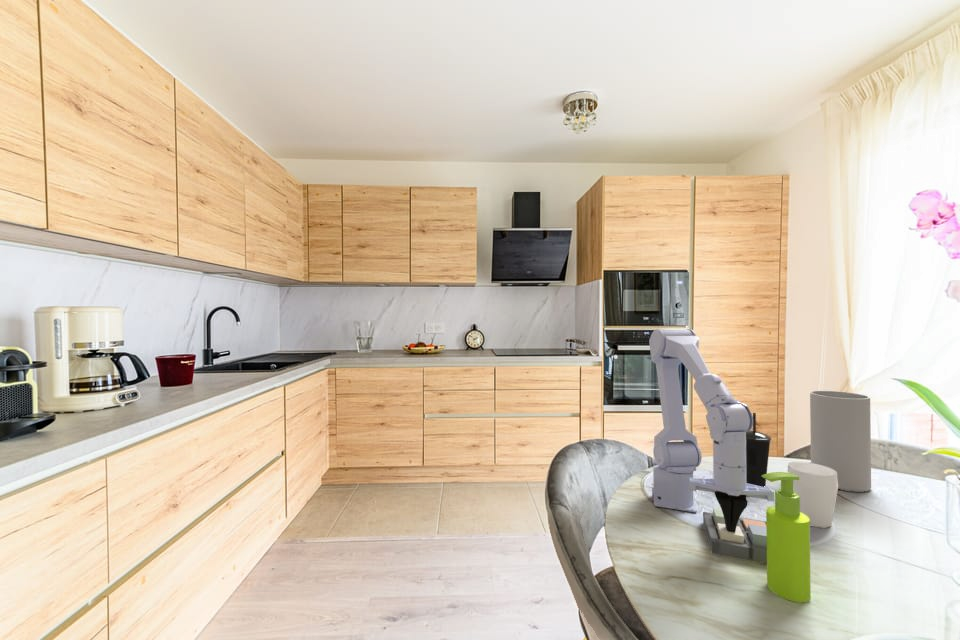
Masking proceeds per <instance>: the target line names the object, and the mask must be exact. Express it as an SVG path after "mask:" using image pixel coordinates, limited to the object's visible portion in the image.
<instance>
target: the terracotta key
mask: <svg viewBox="0 0 960 640" xmlns="http://www.w3.org/2000/svg"><path fill="white" fill-rule="evenodd" d="M741 518H742V526H743V528H744V530H745V531H748V524H751V525H757V526H763V527H767V526H766V524H765V522H762V521H763V520H760V521H756V520H757V519H753V520H749V519H750V518H747V519H743V518H744V517H741Z"/></svg>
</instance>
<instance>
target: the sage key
mask: <svg viewBox="0 0 960 640" xmlns="http://www.w3.org/2000/svg"><path fill="white" fill-rule="evenodd" d="M712 513H713V520H714V523H715V526H717V523H721V524H725V520H724V516H723V512H722V509H721V508H716V507H712ZM737 526H738V523H737Z"/></svg>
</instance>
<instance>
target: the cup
mask: <svg viewBox="0 0 960 640" xmlns="http://www.w3.org/2000/svg"><path fill="white" fill-rule="evenodd" d="M787 472H789V473H792V474H794V475H796V476H799V480H793V492H795V493H796V494H798V495H799V496H800V512H801V513H803V514H805V515H806V516H808V517H809V519H810V526H811V527H815V528H829V527H831V526H832V523H833V520H834V514H835V506H836V502H837V496H838V480H837V472H836V471H835V470H833V469H831V468H829V467H826V466H822V465H818V464H814V463H811V462H808V461H807V462H806V461H791V462H789V463H787Z"/></svg>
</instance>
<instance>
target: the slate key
mask: <svg viewBox="0 0 960 640" xmlns="http://www.w3.org/2000/svg"><path fill="white" fill-rule="evenodd" d="M748 537H749V539H750V541H751V543H752V545H756V546H761V547H767V527H763V526H757V525H751V524H748Z"/></svg>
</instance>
